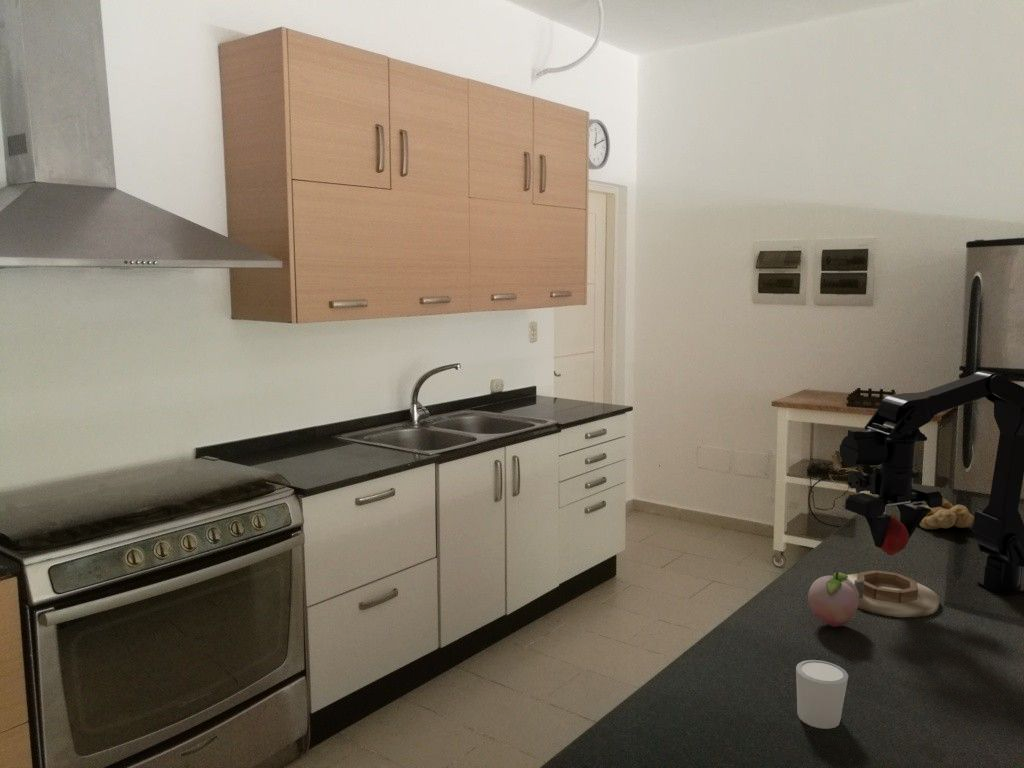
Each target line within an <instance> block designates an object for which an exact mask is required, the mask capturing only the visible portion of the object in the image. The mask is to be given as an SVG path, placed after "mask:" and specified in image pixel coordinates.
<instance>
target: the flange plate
mask: <svg viewBox="0 0 1024 768" xmlns="http://www.w3.org/2000/svg"><path fill="white" fill-rule="evenodd" d="M846 575H847V576H848V578H847V579H848V580H850V581H851V582H853V584H854V585H855V586H856V588H857V590H858V592H859V603H858V609H859V610H862V611H865V612H868V613H872V614H877V615H880V614H881V616H887V617H892V616H893V618H905V617H914V618H922V617H928V616H931V615H933V614H935V613H936V612H937V611H938V610H939V607H940V597H939V596H938V594H937V593H935V591H934V590H932V589H931V588H928V587H927V586H925V585H923V584H921V583H919V582H918V581H916V580H915V579H912V578H910V577H907V576H905V575H903V574H900V573H898V572H892V571H886V570H885V571H884V570H874V569H873V570H867V571H861V572H858V573H851V574H846ZM934 612H935V613H934ZM930 614H931V615H930ZM927 615H928V616H927ZM921 616H922V617H921Z"/></svg>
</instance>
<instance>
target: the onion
mask: <svg viewBox="0 0 1024 768" xmlns="http://www.w3.org/2000/svg"><path fill="white" fill-rule="evenodd" d="M889 516H891V520H890V523H889V526H888V529H887V532H886V536H885V539H884V542H883V544H882V547H881V548H879V549H880V550H882V551H883V553H885V554H886V555H888V556H894V555H895V554H897V553H899V552H901V551H903V550H904V549H905V548H906V546H907V545H908V542H909V539H910V538H909V535H908V531H907V529H906V527H905V526H904V525H903V524H902V523H901V522H900V519H899V520H898V519H897V514H895V513H891V514H890V515H889Z"/></svg>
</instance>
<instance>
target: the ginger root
mask: <svg viewBox="0 0 1024 768" xmlns="http://www.w3.org/2000/svg"><path fill="white" fill-rule="evenodd" d="M925 507H926V508H929V509H931V512H930V513H927V515H926V516H925V517H924V519H923V520H922V521H921V522H920V524H919V526H920V527H921V528H923V529H925V530H929V529H931V530H930V531H933V529H934V530H938V529H941V528H942V529H950V528H952V527H956V528H961V529H965V528H969V527H970V526H971V525H973V523H974V514H971V513H970V510H969V509H968V508H967V506H965V505H962V504H955V505H953V504H952V503H951V502H950V501H949V500H947V499H945V498H944V497H943V500H942V507H936V508H930V507H929V506H928V505H925ZM896 509H897V511H898V512H899V510H898V508H897V506H896Z"/></svg>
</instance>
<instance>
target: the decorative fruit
mask: <svg viewBox="0 0 1024 768" xmlns="http://www.w3.org/2000/svg"><path fill="white" fill-rule="evenodd" d="M847 575H848V574H846V573H843V572H839V571H837V572H834V573H833V574H832V575H824V576H821V577H819V578H817V579H815V581H813V583H811V586H810V588H809V590H808V594H807V595H808V596H807V600H808V605H809V607H810V609H811V611H812V612H813V613H814V614H815V616H816V617H817V618H818V619H820V620H821V621H822V622H823V623H825V624H827V625H829V626H831V627H833V628H835V627H836V628H837V627H841V626H844V625H847V624H848V623H849V622H851V621H852V620H853V619H854V618H855V616H856V615H857V611H858V609H859V608H858V603H859V592H858V590H857V588H856V586H855V585H854V584H853V582H851V581H850V580H848V579H847V578H848V576H847Z"/></svg>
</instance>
